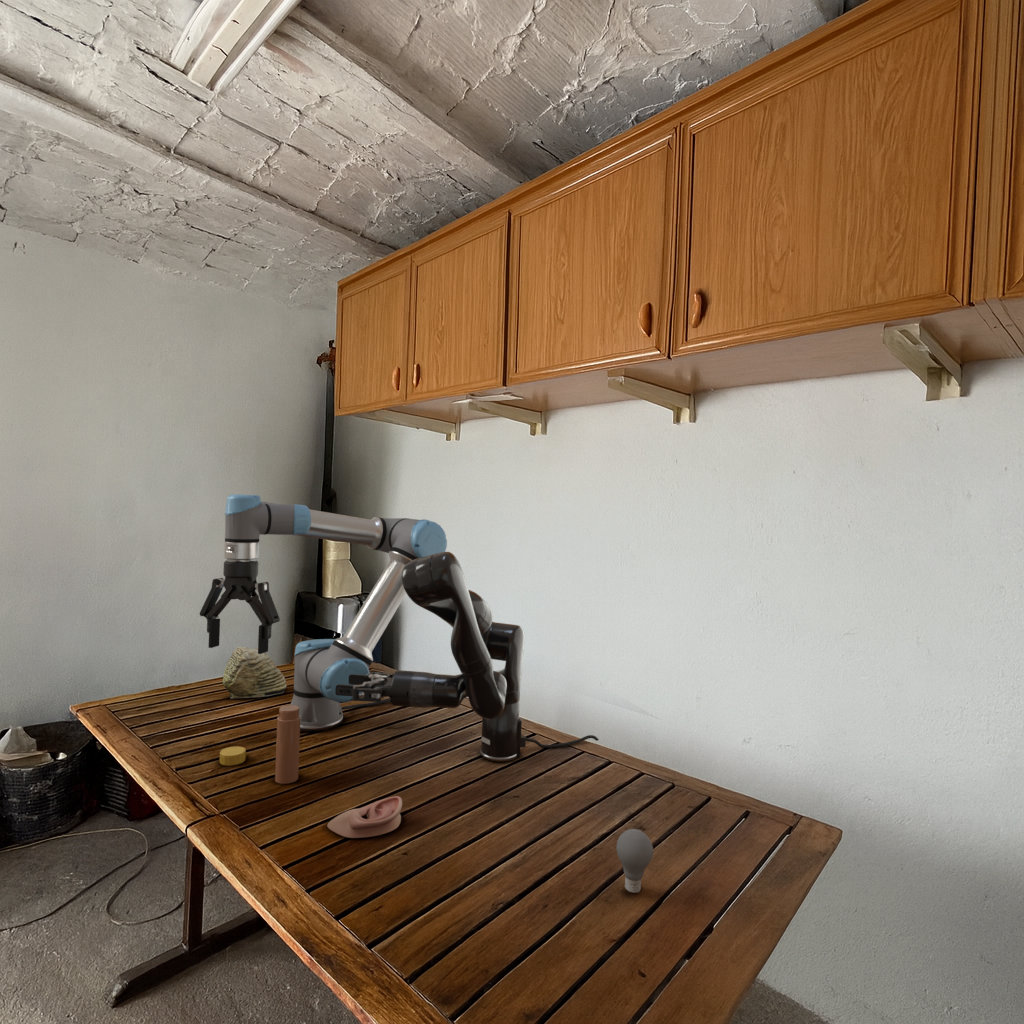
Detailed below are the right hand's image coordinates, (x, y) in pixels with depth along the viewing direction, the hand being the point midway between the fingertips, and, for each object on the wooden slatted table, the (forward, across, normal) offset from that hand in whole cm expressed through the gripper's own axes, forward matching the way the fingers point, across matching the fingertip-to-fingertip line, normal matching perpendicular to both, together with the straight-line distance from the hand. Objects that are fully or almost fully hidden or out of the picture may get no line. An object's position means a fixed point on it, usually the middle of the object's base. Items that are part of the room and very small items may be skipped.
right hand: (342, 684), depth 140 cm
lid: (+28, -8, +20) cm, 35 cm away
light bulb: (-61, +30, +22) cm, 72 cm away
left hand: (+28, -8, -4) cm, 29 cm away
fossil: (+46, -55, +22) cm, 75 cm away
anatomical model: (-11, +16, +22) cm, 30 cm away
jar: (+12, -1, +22) cm, 25 cm away
